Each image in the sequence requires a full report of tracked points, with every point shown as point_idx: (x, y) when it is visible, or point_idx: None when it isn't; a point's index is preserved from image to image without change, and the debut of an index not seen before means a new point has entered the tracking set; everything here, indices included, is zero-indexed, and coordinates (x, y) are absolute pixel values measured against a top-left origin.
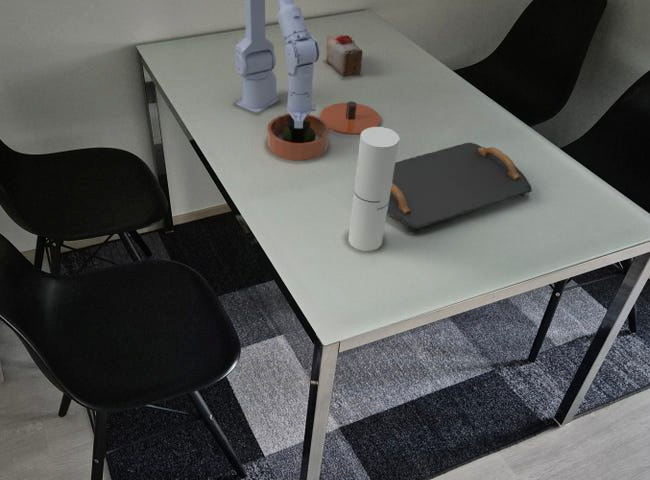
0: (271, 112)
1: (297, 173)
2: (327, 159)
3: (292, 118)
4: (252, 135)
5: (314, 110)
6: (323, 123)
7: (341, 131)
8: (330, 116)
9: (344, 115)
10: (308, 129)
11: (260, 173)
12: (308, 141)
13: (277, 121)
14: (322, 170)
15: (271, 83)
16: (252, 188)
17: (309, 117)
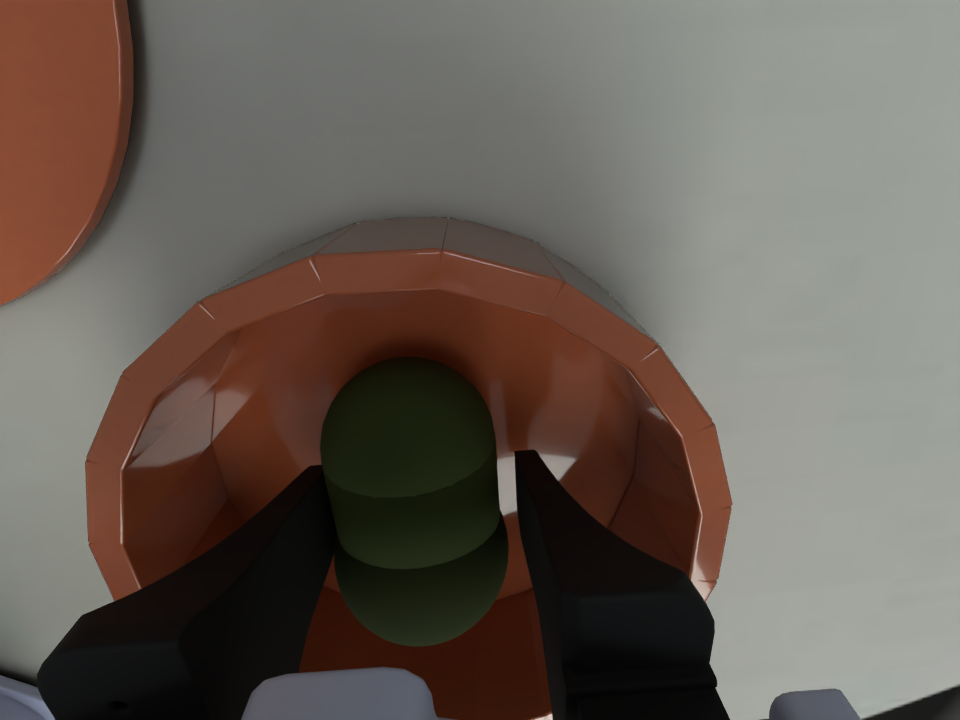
0: (36, 641)
1: (803, 417)
2: (613, 205)
3: (300, 656)
4: None
5: (426, 693)
6: (231, 330)
7: (116, 77)
8: None
9: None
10: (420, 477)
11: (777, 607)
12: (489, 414)
13: None
14: (783, 239)
15: None
16: (921, 621)
17: (133, 481)
